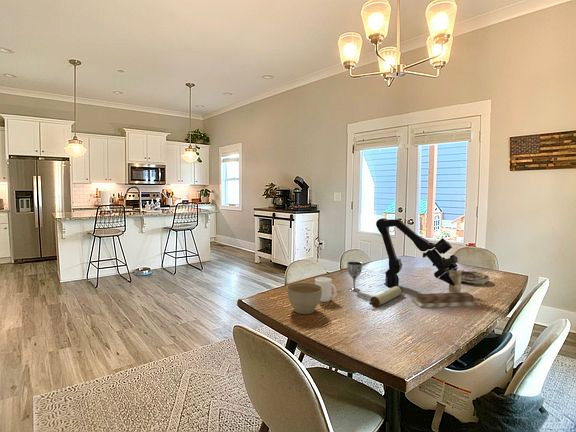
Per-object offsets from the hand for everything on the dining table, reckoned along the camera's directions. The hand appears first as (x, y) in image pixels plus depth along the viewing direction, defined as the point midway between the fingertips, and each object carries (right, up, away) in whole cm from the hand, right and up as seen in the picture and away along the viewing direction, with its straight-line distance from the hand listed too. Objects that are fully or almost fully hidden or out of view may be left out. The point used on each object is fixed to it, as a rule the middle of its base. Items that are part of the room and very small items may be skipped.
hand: (457, 283), depth 174 cm
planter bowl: (-80, -9, -19) cm, 83 cm away
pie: (+22, -5, +30) cm, 38 cm away
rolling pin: (-38, -8, -5) cm, 39 cm away
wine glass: (-51, -6, +12) cm, 53 cm away
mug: (-69, -7, -5) cm, 69 cm away
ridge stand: (-11, -8, -9) cm, 16 cm away
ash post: (-1, -7, +1) cm, 7 cm away
